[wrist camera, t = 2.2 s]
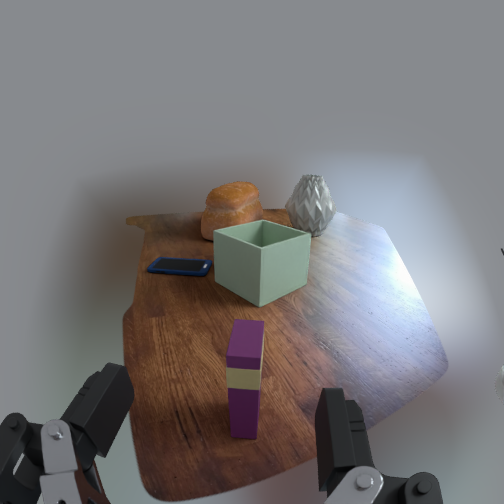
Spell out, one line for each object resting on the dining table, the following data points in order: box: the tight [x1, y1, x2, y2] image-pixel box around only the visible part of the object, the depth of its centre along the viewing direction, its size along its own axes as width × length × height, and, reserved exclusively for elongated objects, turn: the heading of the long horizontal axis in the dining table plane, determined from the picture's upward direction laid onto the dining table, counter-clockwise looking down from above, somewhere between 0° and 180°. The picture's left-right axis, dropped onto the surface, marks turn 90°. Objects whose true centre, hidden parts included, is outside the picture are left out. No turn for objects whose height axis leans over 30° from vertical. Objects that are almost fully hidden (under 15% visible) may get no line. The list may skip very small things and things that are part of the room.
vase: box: [285, 175, 337, 237], centre depth 88 cm, size 16×16×18 cm
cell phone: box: [147, 257, 212, 276], centre depth 64 cm, size 7×14×1 cm, turn 85°
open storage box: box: [213, 220, 311, 307], centre depth 56 cm, size 13×13×11 cm
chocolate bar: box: [226, 319, 264, 439], centre depth 25 cm, size 5×3×12 cm, turn 175°
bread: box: [201, 182, 263, 241], centre depth 89 cm, size 14×26×15 cm, turn 162°
